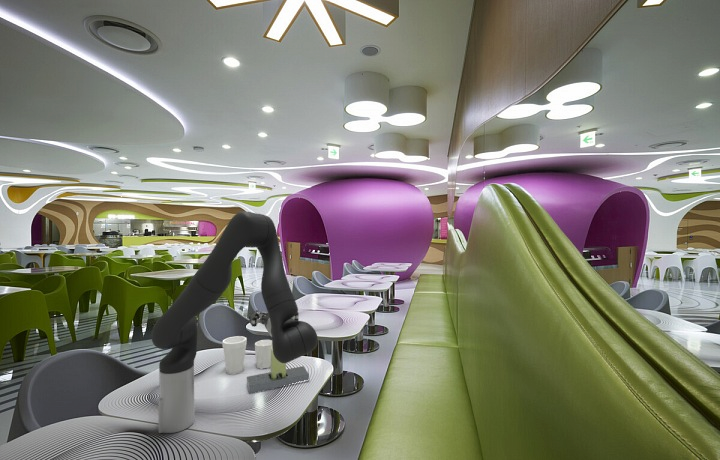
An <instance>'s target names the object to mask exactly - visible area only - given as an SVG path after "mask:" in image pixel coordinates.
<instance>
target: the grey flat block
mask: <svg viewBox="0 0 720 460" xmlns="http://www.w3.org/2000/svg"><path fill="white" fill-rule="evenodd" d="M276 376H277V378H276V379H271V371H270V372H264V373H260V374H259V373H258V374H253V375H248V376H246V387H247V390H248V394H249V395H252V394H256V393H259V392H258V391H261V392H264V391H263V390H266V391H269V390H268V389H271V390H273V388H276V387H280V386H284V385H288V384H292V383H296V382H299V381H304V380H308V379H309V380H310V373H309V372H308V371H307V369H306V368H305V366H304V365H302V366H297V367H292V368H286V377H281V378H280V373H278V374H276ZM280 388H281V387H280ZM276 389H277V388H276ZM255 392H256V393H255ZM251 393H252V394H251Z"/></svg>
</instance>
